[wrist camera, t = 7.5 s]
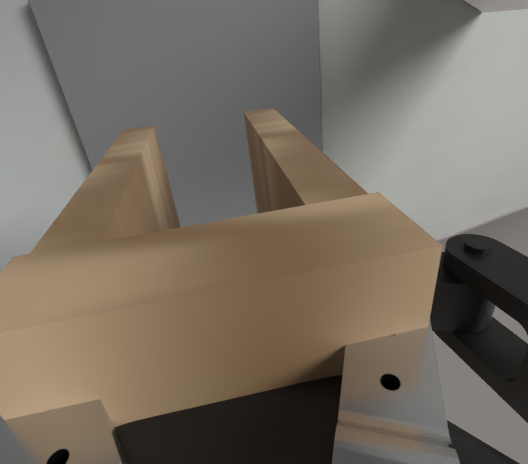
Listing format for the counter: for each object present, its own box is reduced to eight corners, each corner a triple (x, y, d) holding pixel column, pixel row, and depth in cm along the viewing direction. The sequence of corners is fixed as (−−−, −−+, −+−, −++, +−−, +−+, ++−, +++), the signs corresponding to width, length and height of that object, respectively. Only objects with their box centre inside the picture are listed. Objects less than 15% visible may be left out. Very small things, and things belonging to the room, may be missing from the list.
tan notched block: (163, 259, 17) (121, 563, 7) (121, 124, 14) (-57, 344, 4) (284, 236, 17) (399, 489, 8) (272, 102, 14) (441, 246, 4)
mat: (32, -1, 22) (27, -2, 21) (313, -34, 23) (316, -36, 23) (123, 243, 31) (122, 248, 30) (321, 207, 32) (324, 211, 32)
